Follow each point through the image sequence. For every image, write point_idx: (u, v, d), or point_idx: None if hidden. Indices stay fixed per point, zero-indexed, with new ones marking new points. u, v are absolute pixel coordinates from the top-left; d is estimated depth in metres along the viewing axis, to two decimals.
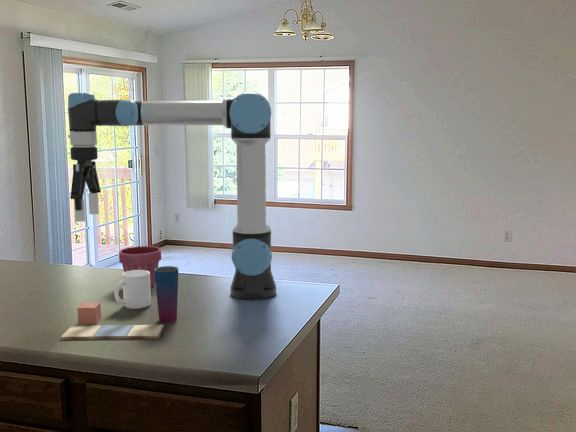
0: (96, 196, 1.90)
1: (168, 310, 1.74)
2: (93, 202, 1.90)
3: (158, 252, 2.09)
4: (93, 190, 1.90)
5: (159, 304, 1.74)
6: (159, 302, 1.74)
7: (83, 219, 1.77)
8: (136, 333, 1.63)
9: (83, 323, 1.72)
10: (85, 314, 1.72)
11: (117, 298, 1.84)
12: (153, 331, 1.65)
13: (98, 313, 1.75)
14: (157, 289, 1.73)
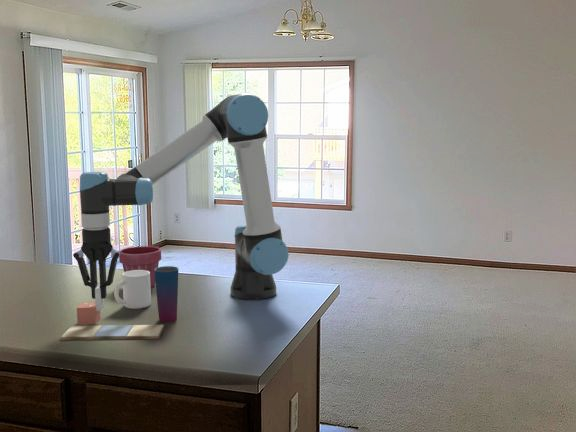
0: None
1: (168, 310, 1.74)
2: None
3: (158, 252, 2.09)
4: None
5: (159, 304, 1.74)
6: (159, 302, 1.74)
7: (96, 308, 1.73)
8: (136, 333, 1.63)
9: (82, 323, 1.72)
10: (85, 314, 1.72)
11: (117, 298, 1.84)
12: (153, 331, 1.65)
13: (98, 313, 1.75)
14: (157, 289, 1.73)
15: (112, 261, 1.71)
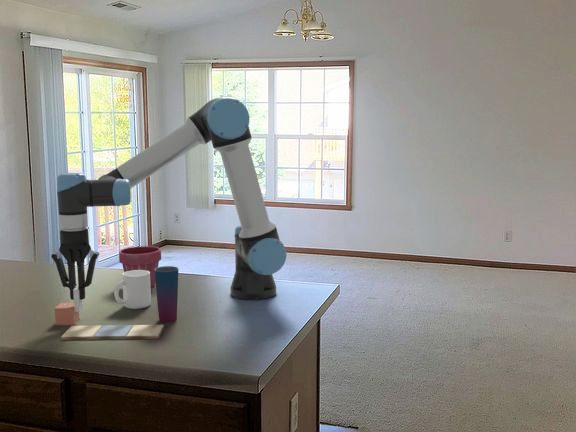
0: None
1: (168, 310, 1.74)
2: None
3: (158, 252, 2.09)
4: None
5: (159, 304, 1.74)
6: (159, 302, 1.74)
7: None
8: (136, 333, 1.63)
9: (60, 323, 1.72)
10: (63, 314, 1.72)
11: (117, 298, 1.84)
12: (153, 331, 1.65)
13: (76, 314, 1.75)
14: (157, 289, 1.73)
15: (90, 262, 1.71)
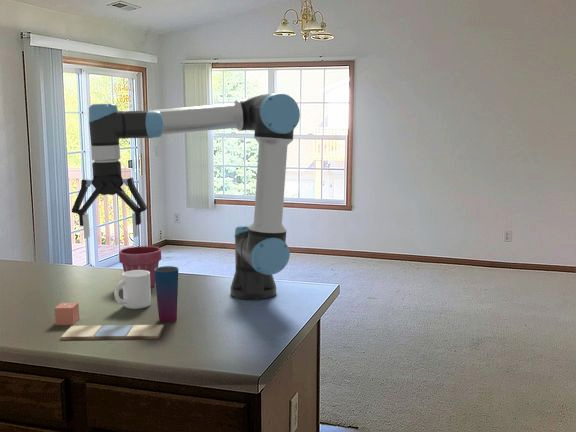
0: None
1: (168, 310, 1.74)
2: None
3: (158, 252, 2.09)
4: None
5: (159, 304, 1.74)
6: (159, 302, 1.74)
7: None
8: (136, 333, 1.63)
9: (60, 323, 1.72)
10: (63, 314, 1.72)
11: (117, 298, 1.84)
12: (153, 331, 1.65)
13: (76, 314, 1.75)
14: (157, 289, 1.73)
15: (130, 188, 1.69)
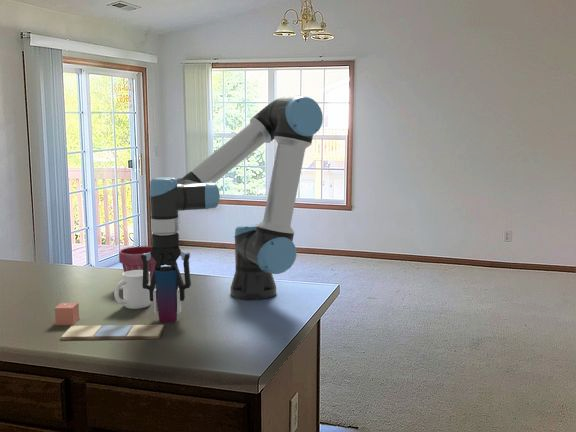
0: (177, 294, 1.75)
1: (168, 310, 1.74)
2: None
3: None
4: None
5: (159, 304, 1.74)
6: (159, 302, 1.74)
7: (154, 311, 1.75)
8: (136, 333, 1.63)
9: (60, 323, 1.72)
10: (63, 314, 1.72)
11: (117, 298, 1.84)
12: (153, 331, 1.65)
13: (76, 314, 1.75)
14: (157, 289, 1.73)
15: (184, 263, 1.73)
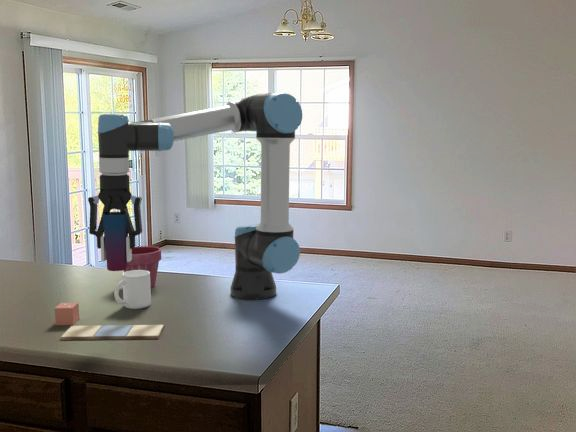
0: None
1: (116, 258, 1.61)
2: None
3: (158, 252, 2.09)
4: None
5: (107, 251, 1.61)
6: (107, 249, 1.61)
7: None
8: (136, 333, 1.63)
9: (60, 323, 1.72)
10: (63, 314, 1.72)
11: (117, 298, 1.84)
12: (153, 331, 1.65)
13: (76, 314, 1.75)
14: (105, 235, 1.61)
15: (135, 208, 1.61)
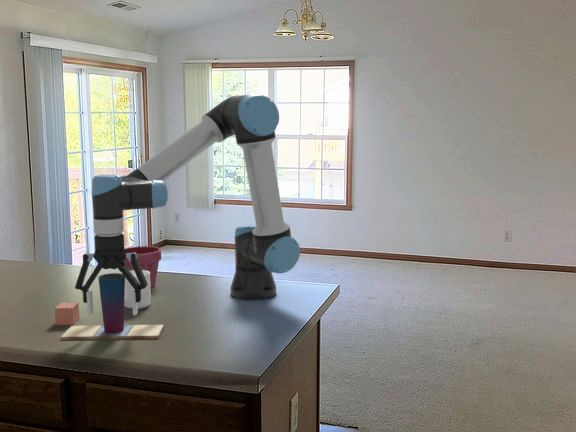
0: None
1: (113, 320, 1.62)
2: None
3: (158, 252, 2.09)
4: None
5: (104, 314, 1.63)
6: (104, 312, 1.62)
7: (88, 313, 1.63)
8: (136, 333, 1.63)
9: (60, 323, 1.72)
10: (63, 314, 1.72)
11: None
12: (153, 331, 1.65)
13: (76, 314, 1.75)
14: (101, 298, 1.62)
15: (133, 264, 1.61)
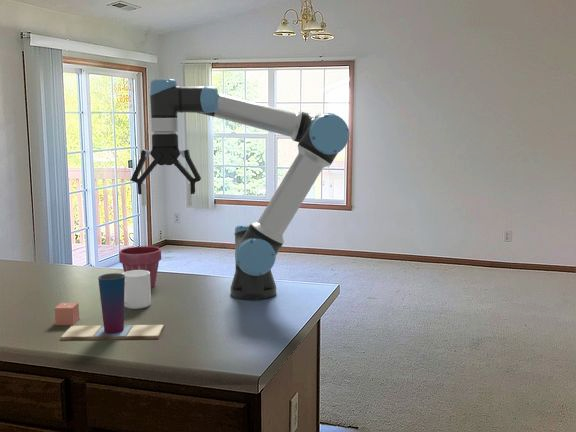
0: (188, 186, 1.81)
1: (113, 320, 1.62)
2: None
3: (158, 252, 2.09)
4: None
5: (104, 314, 1.62)
6: (103, 312, 1.62)
7: (142, 203, 1.81)
8: (136, 333, 1.63)
9: (60, 323, 1.72)
10: (63, 314, 1.72)
11: None
12: (153, 331, 1.65)
13: (76, 314, 1.75)
14: (101, 298, 1.62)
15: (187, 159, 1.80)
